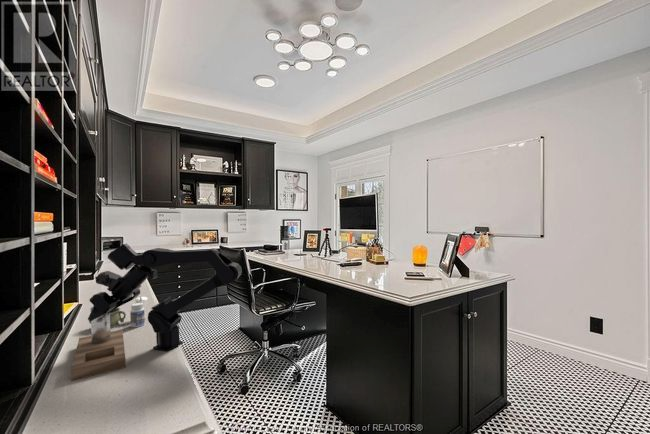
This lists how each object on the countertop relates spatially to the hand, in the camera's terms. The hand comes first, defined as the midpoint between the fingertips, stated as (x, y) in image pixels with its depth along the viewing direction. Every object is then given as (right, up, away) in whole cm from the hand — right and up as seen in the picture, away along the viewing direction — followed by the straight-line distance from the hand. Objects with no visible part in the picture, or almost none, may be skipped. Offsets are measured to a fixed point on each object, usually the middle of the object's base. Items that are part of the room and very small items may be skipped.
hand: (98, 315), depth 100 cm
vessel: (-13, -12, +22) cm, 28 cm away
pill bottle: (-1, -11, +22) cm, 25 cm away
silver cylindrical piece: (+1, -8, 0) cm, 8 cm away
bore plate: (+4, -11, -4) cm, 13 cm away
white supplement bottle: (-4, -11, +30) cm, 32 cm away
